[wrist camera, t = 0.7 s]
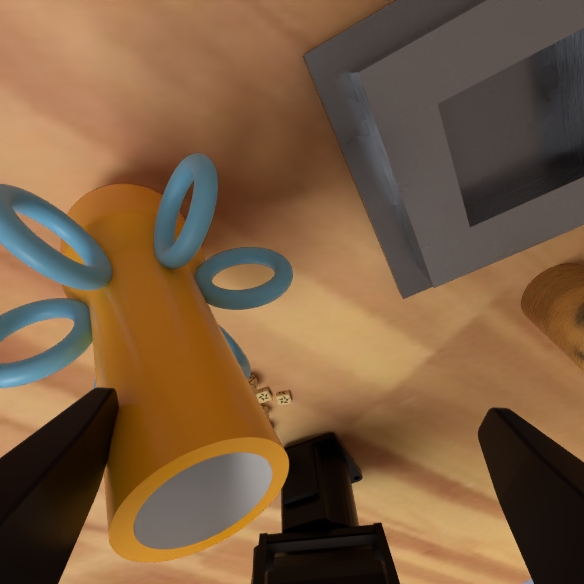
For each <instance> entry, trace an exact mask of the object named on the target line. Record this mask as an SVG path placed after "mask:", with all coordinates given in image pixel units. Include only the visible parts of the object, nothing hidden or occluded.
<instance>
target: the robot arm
mask: <svg viewBox="0 0 584 584" xmlns="http://www.w3.org/2000/svg"><path fill="white" fill-rule="evenodd" d="M118 411H119V402H118V396H117V392H116V390H115V389H114V388H107V387H97V388H94V389H93V390H91V391H90V392H89V393H87V394H86V395H84V396H83V397H82V398H80V399H79V400H78V401H76V402H75V403H74V404H72V405H71V406H70V407H68V408H67V409H66V410H64V411H63V412H62V413H60V414H59V415H58V416H56V417H55V418H54V419H52V420H51V421H50V422H48V423H47V424H45V425H44V426H43V427H41V428H40V429H39V430H37V431H36V432H35V433H33V434H32V435H31V436H29V437H28V438H27V439H25V440H24V441H23V442H21V443H20V444H19V445H17V446H16V447H15V448H13V449H12V450H11V451H9V452H8V453H6V454H5V455H4V456H2V457H1V458H0V584H58V583H59V581H60V578H61V576H62V574H63V571H64V569H65V567H66V564H67V562H68V560H69V558H70V555H71V553H72V551H73V548H74V546H75V544H76V541H77V539H78V537H79V534H80V532H81V530H82V527H83V525H84V523H85V520H86V518H87V516H88V513H89V511H90V509H91V506H92V504H93V502H94V499H95V497H96V494H97V492H98V489H99V486H100V483H101V480H102V477H103V474H104V471H105V467H106V464H107V460H108V454H109V449H110V444H111V439H112V434H113V430H114V426H115V422H116V418H117V414H118ZM478 439H479V442H480V446H481V449H482V452H483V455H484V458H485V461H486V464H487V467H488V470H489V473H490V476H491V480H492V483H493V486H494V489H495V492H496V495H497V497H498V500H499V503H500V505H501V508H502V510H503V513H504V515H505V517H506V520H507V522H508V524H509V527H510V529H511V531H512V534H513V536H514V538H515V541H516V543H517V545H518V547H519V550H520V552H521V554H522V557H523V559H524V561H525V564H526V566H527V568H528V571H529V573H530V575H531V578H532V580H533V582H534V584H584V462H582V461H581V460H580V459H578V458H577V457H575V456H574V455H573V454H571V453H570V452H569V451H567V450H566V449H564V448H563V447H562V446H560V445H559V444H557V443H556V442H555V441H553V440H552V439H550V438H549V437H548V436H546V435H545V434H543V433H542V432H541V431H539V430H538V429H537V428H535V427H534V426H532V425H531V424H530V423H528V422H527V421H525V420H524V419H523V418H521V417H520V416H518V415H517V414H516V413H514V412H513V411H511V410H510V409H507V408H495V407H494V408H491V409H489V410H488V412H487V414H486V416H485V418H484V420H483V422H482V423H481V425H480V427H479V430H478ZM285 451H286V453H287V456H288V459H289V471H288V475H287V478H286V480H285V483H284V485H283V487H282V488H281V516H282V533H277V534H268V533H261V534H260V537H259V545H258V546H256V547H255V548H254V556H253V573H252V580H251V584H400V582H399V579H398V575H397V572H396V569H395V566H394V562H393V559H392V556H391V553H390V549H389V546H388V543H387V540H386V536H385V533H384V530H383V527H382V523H381V522H380V523H374V524H373V525H364V526H359V522H358V517H357V511H356V506H355V501H354V495H353V490H352V485H351V484H352V483H355V482H358V481H360V480H361V479H362V478H363V477H362V473H361V471H360V469H359V468H358V467H357V465H356V464H355V462H354V461H353V459H352V458H351V456H350V455H349V453H348V452H347V450H346V449H345V447H344V446H343V444H342V443H341V441H340V440H339V438H338V437H337V436H336V435H335V434H333V433H330V434H326V435H324V436H321V437H318V438H315V439H312V440H310V441H307V442H304V443H301V444H299V445H296V446H293V447H290V448H288V449H285Z"/></svg>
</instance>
